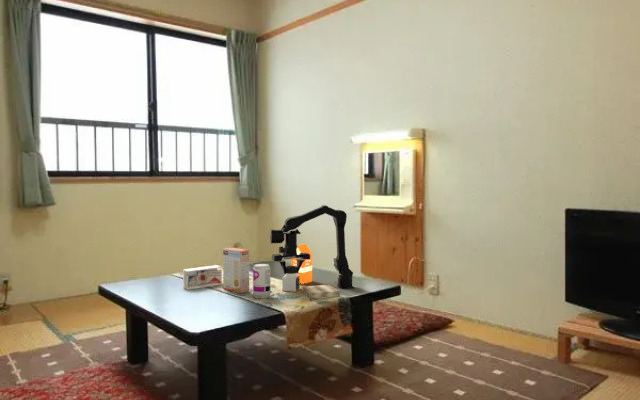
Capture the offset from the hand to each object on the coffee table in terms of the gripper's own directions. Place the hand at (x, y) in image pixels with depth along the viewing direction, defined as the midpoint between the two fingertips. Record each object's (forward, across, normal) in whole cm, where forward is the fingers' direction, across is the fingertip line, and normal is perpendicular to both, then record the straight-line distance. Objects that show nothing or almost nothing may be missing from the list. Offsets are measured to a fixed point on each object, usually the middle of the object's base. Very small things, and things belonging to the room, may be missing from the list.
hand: (291, 273), depth 247 cm
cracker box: (+8, +26, -8) cm, 28 cm away
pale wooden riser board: (+8, -11, +13) cm, 19 cm away
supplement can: (+8, +17, +8) cm, 20 cm away
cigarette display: (+8, +40, -25) cm, 48 cm away
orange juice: (+8, -11, -16) cm, 21 cm away
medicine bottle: (+8, 0, 0) cm, 8 cm away
